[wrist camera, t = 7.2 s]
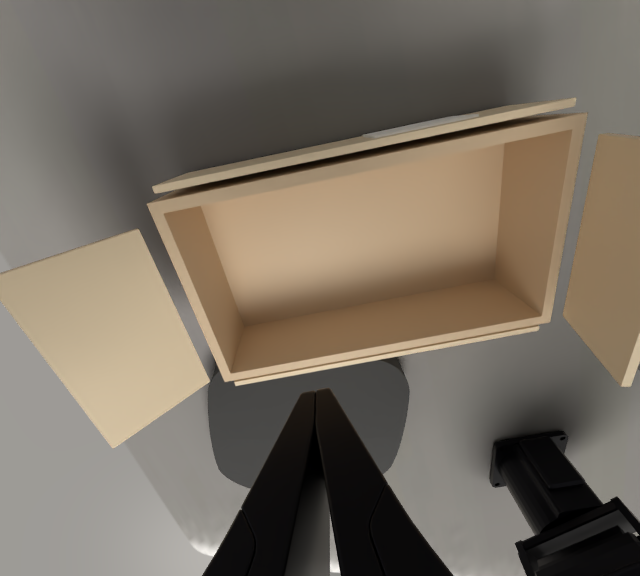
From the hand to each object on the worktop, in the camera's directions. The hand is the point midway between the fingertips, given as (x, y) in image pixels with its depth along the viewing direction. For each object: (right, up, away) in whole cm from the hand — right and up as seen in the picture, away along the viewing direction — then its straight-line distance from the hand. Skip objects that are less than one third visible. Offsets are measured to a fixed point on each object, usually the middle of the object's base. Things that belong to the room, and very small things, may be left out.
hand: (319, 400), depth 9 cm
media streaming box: (-1, -7, +18) cm, 19 cm away
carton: (+2, +6, +10) cm, 12 cm away
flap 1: (-7, +2, +6) cm, 9 cm away
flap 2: (+12, +6, +5) cm, 14 cm away
